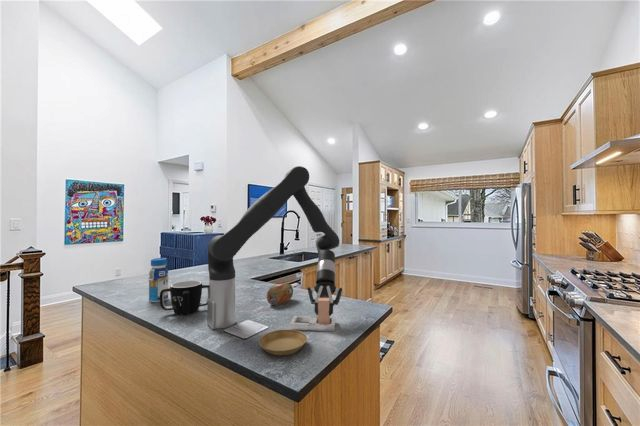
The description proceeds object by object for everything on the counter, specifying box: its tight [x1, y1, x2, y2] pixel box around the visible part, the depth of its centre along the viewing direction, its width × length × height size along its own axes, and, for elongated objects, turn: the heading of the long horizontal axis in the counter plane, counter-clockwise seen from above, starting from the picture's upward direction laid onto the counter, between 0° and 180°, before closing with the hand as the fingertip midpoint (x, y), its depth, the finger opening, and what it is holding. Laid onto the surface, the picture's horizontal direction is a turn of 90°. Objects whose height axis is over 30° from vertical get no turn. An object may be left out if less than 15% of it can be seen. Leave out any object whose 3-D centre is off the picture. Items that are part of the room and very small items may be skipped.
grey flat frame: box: [289, 315, 336, 332], centre depth 100 cm, size 16×8×2 cm, turn 85°
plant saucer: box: [258, 328, 308, 356], centre depth 84 cm, size 15×15×3 cm
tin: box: [266, 282, 294, 307], centre depth 127 cm, size 15×3×8 cm, turn 143°
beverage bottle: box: [148, 257, 170, 303], centre depth 132 cm, size 8×8×20 cm
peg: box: [317, 297, 331, 324], centre depth 100 cm, size 4×4×9 cm
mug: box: [159, 280, 209, 316], centre depth 115 cm, size 16×16×12 cm
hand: (323, 314), depth 98 cm, fingers closed on peg, 4 cm apart
